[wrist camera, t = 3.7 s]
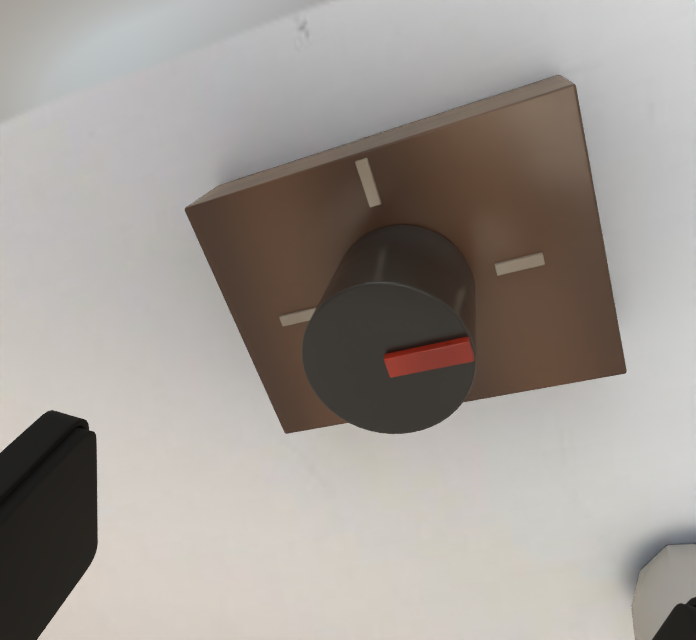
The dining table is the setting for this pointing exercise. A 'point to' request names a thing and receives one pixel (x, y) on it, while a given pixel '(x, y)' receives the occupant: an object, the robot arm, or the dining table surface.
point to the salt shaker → (663, 588)
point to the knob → (394, 332)
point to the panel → (438, 216)
